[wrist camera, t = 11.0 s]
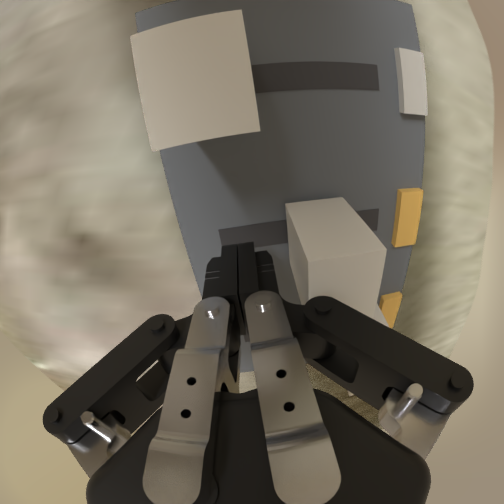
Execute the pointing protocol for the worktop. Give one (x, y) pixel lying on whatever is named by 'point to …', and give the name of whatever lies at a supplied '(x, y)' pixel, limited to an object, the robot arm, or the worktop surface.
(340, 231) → the slider middle
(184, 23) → the slider
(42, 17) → the worktop surface
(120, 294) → the worktop surface
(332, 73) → the switch board
